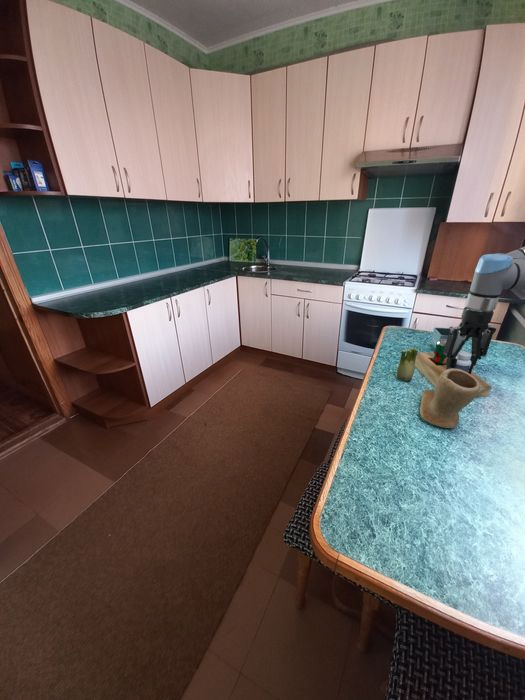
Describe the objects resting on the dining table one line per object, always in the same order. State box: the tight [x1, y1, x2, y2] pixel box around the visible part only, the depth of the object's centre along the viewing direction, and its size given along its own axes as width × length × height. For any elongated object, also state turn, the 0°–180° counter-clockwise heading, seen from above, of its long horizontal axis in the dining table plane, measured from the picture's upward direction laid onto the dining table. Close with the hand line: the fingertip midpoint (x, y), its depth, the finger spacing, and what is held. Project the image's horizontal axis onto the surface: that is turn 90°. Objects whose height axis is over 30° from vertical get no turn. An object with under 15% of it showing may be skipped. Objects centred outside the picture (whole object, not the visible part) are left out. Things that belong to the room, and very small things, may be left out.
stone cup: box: [419, 369, 480, 429], centre depth 83 cm, size 15×12×15 cm
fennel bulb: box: [396, 347, 419, 382], centre depth 101 cm, size 6×5×12 cm
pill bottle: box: [455, 350, 472, 373], centre depth 96 cm, size 5×5×10 cm
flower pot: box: [432, 327, 458, 349], centre depth 120 cm, size 9×9×9 cm
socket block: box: [415, 352, 492, 398], centre depth 103 cm, size 14×24×4 cm, turn 2°
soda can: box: [432, 339, 448, 365], centre depth 106 cm, size 5×5×12 cm
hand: (457, 374), depth 98 cm, fingers closed on pill bottle, 5 cm apart
